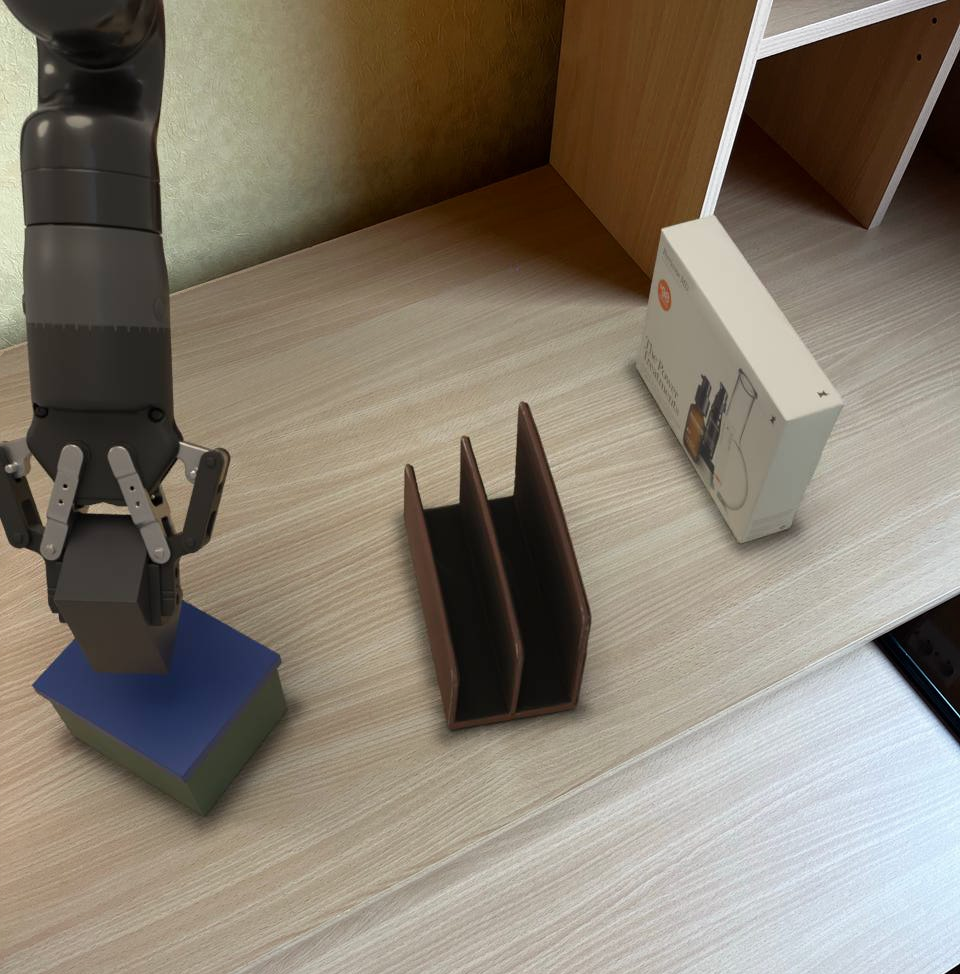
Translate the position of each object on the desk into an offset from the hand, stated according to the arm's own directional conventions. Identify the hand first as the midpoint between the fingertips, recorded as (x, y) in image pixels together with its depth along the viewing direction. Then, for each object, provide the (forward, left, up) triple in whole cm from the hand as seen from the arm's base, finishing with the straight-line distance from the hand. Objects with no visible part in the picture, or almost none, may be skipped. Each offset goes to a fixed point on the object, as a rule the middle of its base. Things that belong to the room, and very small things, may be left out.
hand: (115, 620), depth 64 cm
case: (-1, +2, -5) cm, 5 cm away
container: (-1, +2, -18) cm, 18 cm away
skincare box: (+21, +47, -18) cm, 54 cm away
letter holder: (+13, +22, -18) cm, 31 cm away
